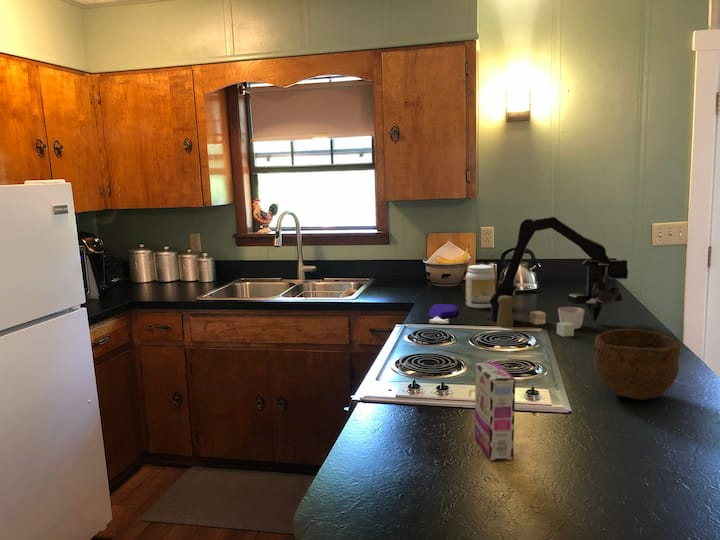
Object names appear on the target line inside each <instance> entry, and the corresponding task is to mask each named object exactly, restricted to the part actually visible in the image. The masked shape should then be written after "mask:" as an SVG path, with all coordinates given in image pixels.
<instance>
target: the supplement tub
mask: <svg viewBox="0 0 720 540" xmlns="http://www.w3.org/2000/svg"><path fill="white" fill-rule="evenodd" d="M467 271H468V272H466V275H465V305H466V306H467V307H469V308H474V309H488V308H491V303H490V299H491V298H492V296H493V295H494V294H495V293H496V274H495V273H494V272H493V271H494V266H493V265H489V264H474V265H468V266H467Z"/></svg>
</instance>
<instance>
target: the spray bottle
mask: <svg viewBox="0 0 720 540" xmlns="http://www.w3.org/2000/svg"><path fill="white" fill-rule="evenodd" d="M457 313H458V307H457V306H456V305H455V304H450V303H449V304H446V303H445V304H443V303H435V304H434V305H432V306H431V307H430V308H429V312H428V316H429V318H430V319H429V320H428V322H429V324H435V323H436V324H438V325H446V324H447V325H449V318H453V317H455V316H456V315H457ZM444 318H446V319H444Z"/></svg>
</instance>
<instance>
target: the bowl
mask: <svg viewBox="0 0 720 540" xmlns="http://www.w3.org/2000/svg"><path fill="white" fill-rule="evenodd" d="M681 347H682V344H681V343H680V342H679V341H677V340H675V339H674V338H672V337H671V336H668V335H665V334H662V333H657V332H652V331H647V330H643V329H636V328H635V329H633V328H632V329H631V328H620V329H619V328H617V329H612V330H607V331H604V332H602V333H600V334H598V335H596V337H595V339H594V361H593V368H594V371H595V373H596V374H597V377H599V379H600V381H601V383H603V384H604V386H605V387H606V388H607V390H609V391H610V392H612V393H613V394H616V395H617V396H619V397H625V398H630V399H634V400H640V401H641V400H649V399H652V398H653V399H654V398H657V397H659V396H661V395H664V393H666V391H668V390H669V389H670V388H671V387H672V385H673V384H674V382H675V380H676V379H677V377H678V372H679V369H680V368H679V358H680V356H679V355H680V351H681Z"/></svg>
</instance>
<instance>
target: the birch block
mask: <svg viewBox="0 0 720 540" xmlns="http://www.w3.org/2000/svg"><path fill="white" fill-rule="evenodd" d="M529 314H530V315H529V322H530V323H531V324H533V325H535V326H536V325H544V324H545V325H546V321H547V320H546V312H543V311H541V310H537V311H530V312H529Z"/></svg>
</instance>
